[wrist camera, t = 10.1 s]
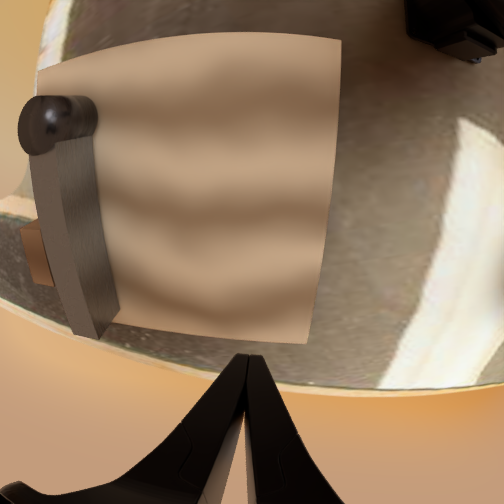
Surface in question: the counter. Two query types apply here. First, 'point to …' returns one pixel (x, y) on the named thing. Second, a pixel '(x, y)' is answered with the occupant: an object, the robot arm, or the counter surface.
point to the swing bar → (70, 207)
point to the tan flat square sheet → (213, 177)
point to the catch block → (36, 254)
